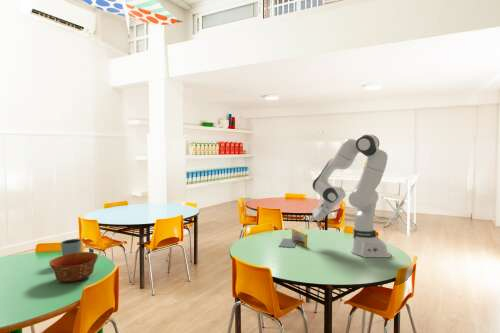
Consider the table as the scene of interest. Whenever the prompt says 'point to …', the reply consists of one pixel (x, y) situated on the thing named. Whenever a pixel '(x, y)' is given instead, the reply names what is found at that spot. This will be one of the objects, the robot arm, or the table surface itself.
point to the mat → (287, 243)
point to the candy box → (299, 237)
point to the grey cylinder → (71, 246)
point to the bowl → (73, 266)
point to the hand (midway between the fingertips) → (309, 221)
